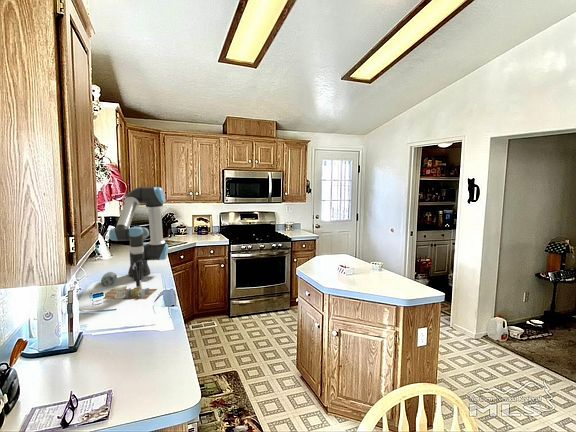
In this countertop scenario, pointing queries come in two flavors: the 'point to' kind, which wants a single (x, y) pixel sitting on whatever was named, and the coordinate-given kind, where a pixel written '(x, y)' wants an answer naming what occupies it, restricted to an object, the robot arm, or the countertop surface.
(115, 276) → the spool
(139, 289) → the tab
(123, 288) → the bobbin
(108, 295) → the board
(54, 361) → the countertop surface
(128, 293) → the notch block
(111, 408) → the countertop surface
